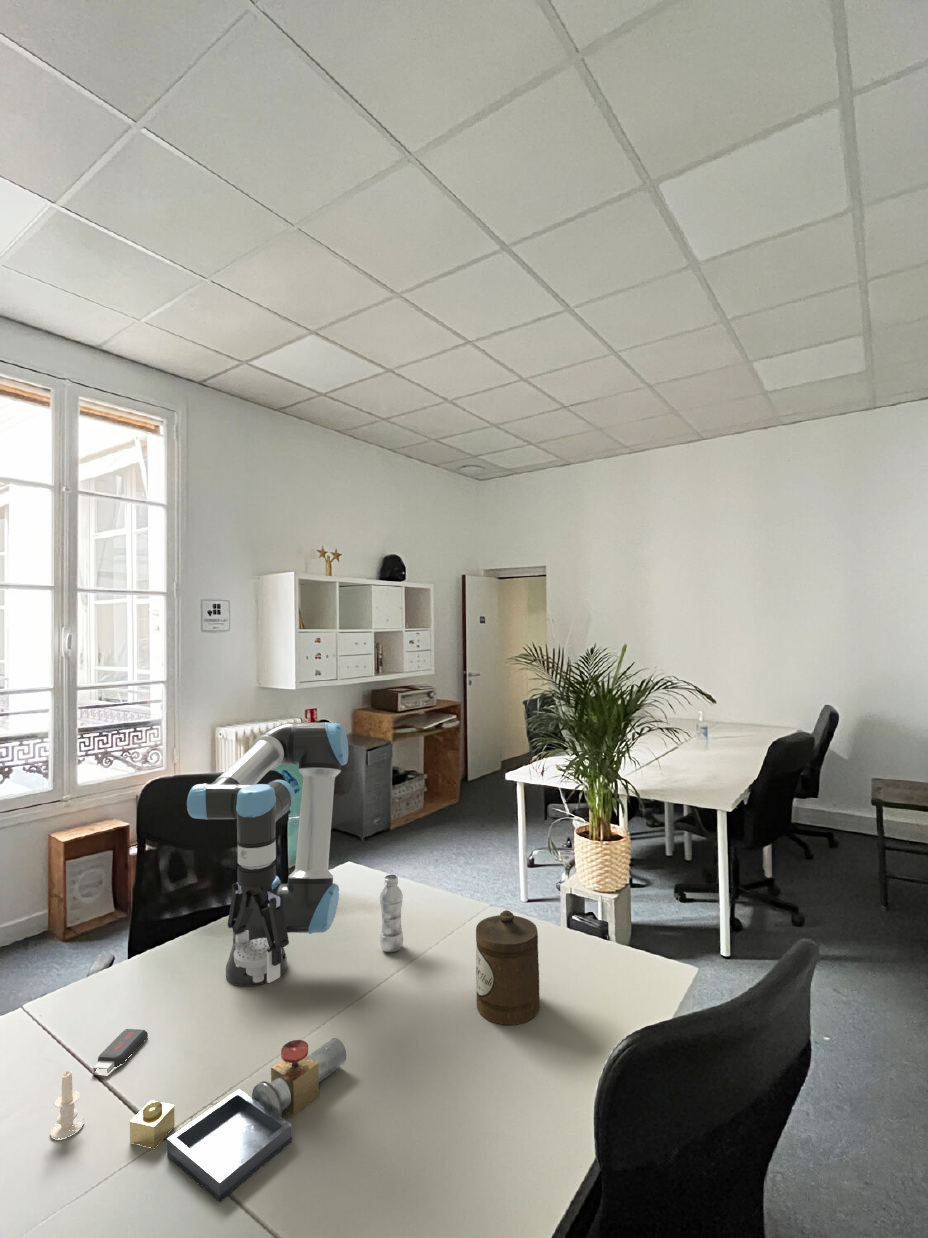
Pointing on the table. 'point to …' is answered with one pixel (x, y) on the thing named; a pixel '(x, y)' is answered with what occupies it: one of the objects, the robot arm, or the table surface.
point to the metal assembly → (252, 1120)
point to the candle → (66, 1109)
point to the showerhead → (253, 957)
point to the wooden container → (507, 969)
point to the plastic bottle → (391, 915)
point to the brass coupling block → (152, 1124)
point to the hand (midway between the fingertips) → (257, 971)
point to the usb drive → (120, 1049)
